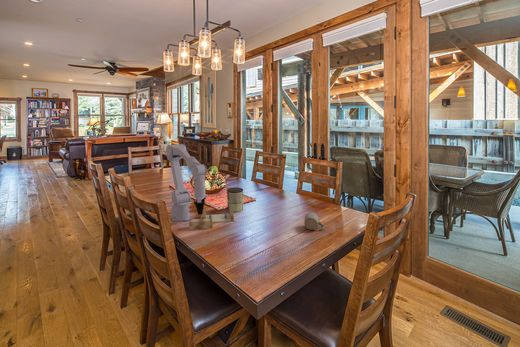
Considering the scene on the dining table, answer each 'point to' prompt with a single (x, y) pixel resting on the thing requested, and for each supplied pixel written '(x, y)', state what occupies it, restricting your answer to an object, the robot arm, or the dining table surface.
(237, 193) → the coffee can
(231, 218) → the peg plate
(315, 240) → the dining table surface
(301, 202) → the dining table surface
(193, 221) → the tan wooden block
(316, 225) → the ceramic mug
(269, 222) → the dining table surface
